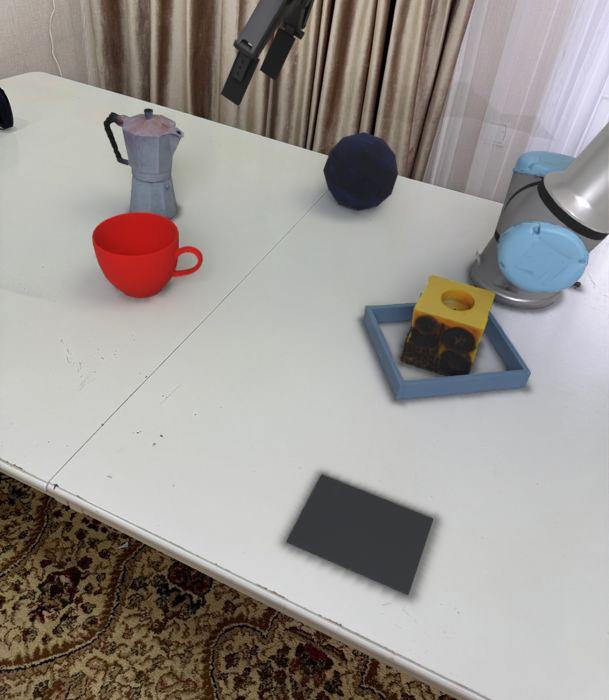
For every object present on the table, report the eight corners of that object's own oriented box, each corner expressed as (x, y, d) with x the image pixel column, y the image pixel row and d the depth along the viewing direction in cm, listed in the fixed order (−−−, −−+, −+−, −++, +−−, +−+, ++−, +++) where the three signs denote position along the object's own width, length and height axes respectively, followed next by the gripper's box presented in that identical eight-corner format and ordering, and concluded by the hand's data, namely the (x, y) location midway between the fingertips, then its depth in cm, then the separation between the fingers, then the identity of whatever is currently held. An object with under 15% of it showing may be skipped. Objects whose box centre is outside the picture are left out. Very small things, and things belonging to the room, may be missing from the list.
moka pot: (181, 230, 115) (173, 124, 102) (103, 217, 117) (85, 111, 104) (198, 206, 122) (192, 104, 109) (124, 194, 124) (109, 92, 111)
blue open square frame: (476, 312, 102) (481, 297, 100) (525, 387, 90) (531, 372, 88) (362, 320, 99) (365, 305, 97) (396, 400, 86) (399, 385, 84)
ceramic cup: (191, 320, 96) (188, 266, 89) (87, 303, 97) (76, 248, 91) (215, 274, 106) (213, 222, 99) (120, 258, 107) (112, 206, 100)
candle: (398, 362, 92) (411, 309, 85) (415, 324, 99) (428, 272, 92) (466, 384, 89) (484, 330, 83) (479, 342, 97) (496, 290, 90)
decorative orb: (319, 156, 131) (327, 116, 116) (389, 159, 132) (406, 120, 117) (319, 219, 128) (326, 187, 114) (390, 222, 129) (407, 190, 115)
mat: (286, 542, 68) (287, 540, 68) (321, 476, 75) (321, 474, 75) (408, 595, 65) (408, 593, 65) (432, 520, 72) (433, 518, 72)
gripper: (326, -96, 82) (261, 51, 96) (254, -88, 63) (186, 94, 77) (373, -62, 83) (301, 80, 97) (315, -45, 64) (236, 128, 78)
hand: (250, 86), depth 87 cm, fingers open, 13 cm apart
